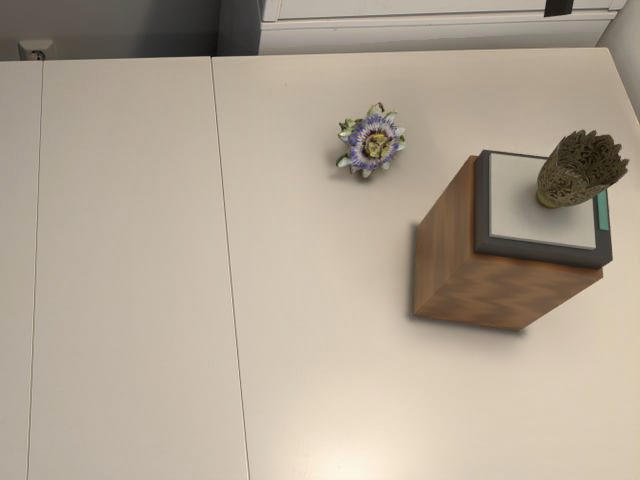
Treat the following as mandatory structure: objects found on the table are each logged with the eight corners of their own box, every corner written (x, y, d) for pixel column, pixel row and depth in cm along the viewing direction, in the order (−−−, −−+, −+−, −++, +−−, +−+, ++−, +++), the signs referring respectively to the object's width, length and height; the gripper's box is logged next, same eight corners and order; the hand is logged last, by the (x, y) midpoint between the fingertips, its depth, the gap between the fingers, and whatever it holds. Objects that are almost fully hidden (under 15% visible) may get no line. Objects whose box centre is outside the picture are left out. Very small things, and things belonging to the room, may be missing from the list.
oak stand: (517, 240, 90) (595, 169, 73) (519, 331, 85) (603, 277, 68) (416, 227, 92) (470, 154, 74) (412, 315, 87) (469, 259, 70)
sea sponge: (509, 177, 70) (549, 132, 62) (567, 170, 70) (614, 124, 62) (528, 228, 67) (572, 188, 60) (588, 221, 67) (640, 180, 60)
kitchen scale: (592, 175, 73) (608, 160, 70) (598, 269, 68) (617, 258, 66) (474, 161, 74) (485, 146, 71) (473, 252, 70) (485, 240, 67)
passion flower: (355, 192, 100) (338, 178, 90) (334, 139, 102) (315, 119, 92) (419, 160, 94) (409, 141, 84) (395, 104, 96) (383, 78, 86)
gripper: (764, -284, 51) (691, -9, 61) (511, -252, 49) (479, 27, 59) (870, -337, 44) (768, -19, 54) (583, -302, 42) (533, 21, 52)
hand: (618, 6), depth 56 cm, fingers open, 13 cm apart
